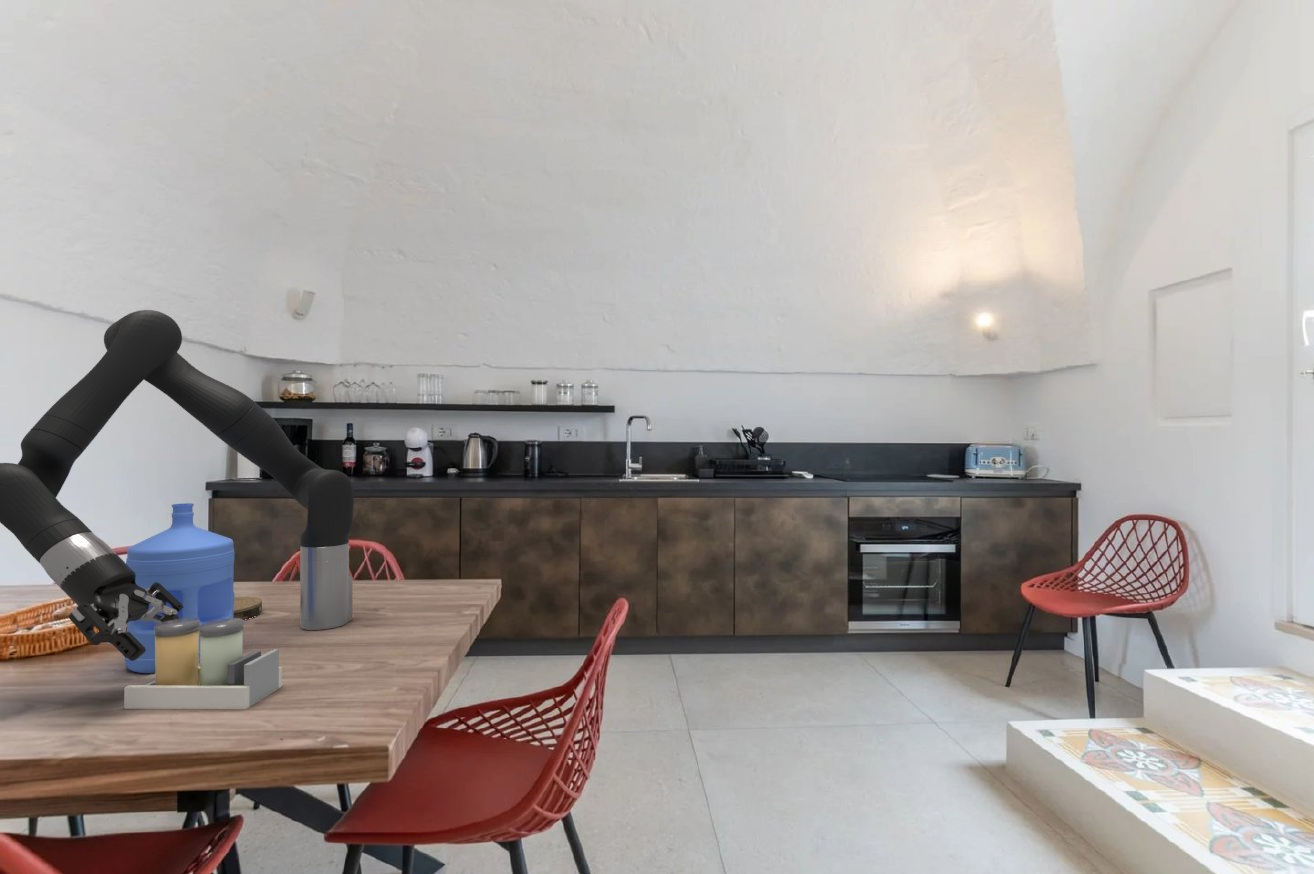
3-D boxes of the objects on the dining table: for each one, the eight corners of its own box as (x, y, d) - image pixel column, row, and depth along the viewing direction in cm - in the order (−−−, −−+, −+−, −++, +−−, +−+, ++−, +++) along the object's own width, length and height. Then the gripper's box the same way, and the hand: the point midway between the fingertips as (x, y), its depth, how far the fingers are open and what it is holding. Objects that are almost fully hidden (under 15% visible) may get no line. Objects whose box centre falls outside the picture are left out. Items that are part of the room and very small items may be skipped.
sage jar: (227, 687, 97) (227, 616, 97) (251, 692, 95) (251, 620, 95) (190, 701, 92) (190, 626, 92) (215, 706, 90) (215, 630, 90)
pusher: (227, 704, 91) (227, 664, 91) (254, 688, 97) (254, 650, 97) (239, 704, 91) (239, 664, 91) (266, 688, 97) (266, 650, 97)
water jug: (119, 660, 113) (119, 504, 113) (222, 639, 124) (223, 498, 124) (133, 682, 102) (133, 510, 102) (244, 658, 113) (245, 503, 114)
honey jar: (184, 687, 97) (185, 616, 97) (208, 692, 95) (208, 620, 95) (145, 700, 92) (145, 626, 92) (169, 706, 90) (169, 630, 90)
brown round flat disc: (218, 608, 149) (218, 595, 149) (278, 610, 147) (278, 597, 147) (155, 627, 133) (155, 613, 133) (222, 630, 131) (222, 616, 131)
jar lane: (124, 715, 90) (124, 666, 90) (170, 691, 98) (170, 647, 98) (245, 715, 89) (245, 666, 89) (281, 692, 98) (281, 647, 98)
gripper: (60, 561, 87) (141, 644, 87) (145, 544, 101) (215, 615, 101) (22, 599, 87) (103, 682, 87) (112, 577, 101) (182, 648, 101)
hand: (163, 646), depth 94 cm, fingers open, 8 cm apart
